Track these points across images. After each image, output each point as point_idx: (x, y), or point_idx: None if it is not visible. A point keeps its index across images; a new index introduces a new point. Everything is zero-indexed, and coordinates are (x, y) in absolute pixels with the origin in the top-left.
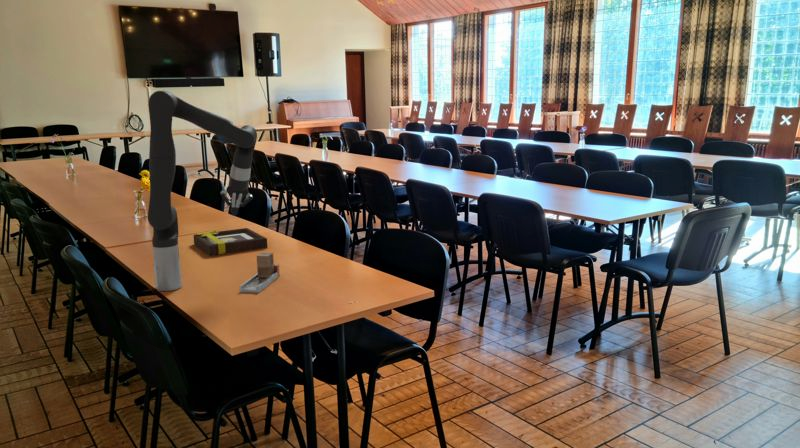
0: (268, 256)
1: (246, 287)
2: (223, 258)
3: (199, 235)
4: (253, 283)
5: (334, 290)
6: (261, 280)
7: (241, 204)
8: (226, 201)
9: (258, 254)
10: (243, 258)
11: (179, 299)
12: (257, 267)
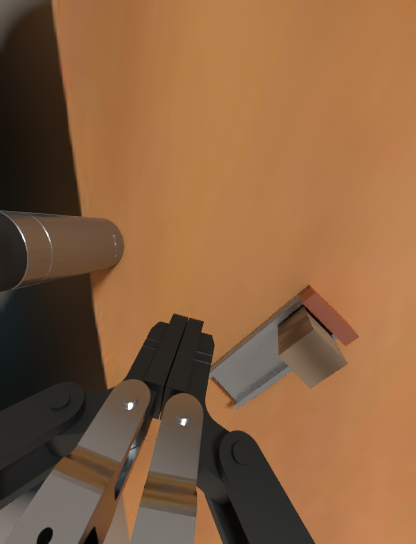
0: (310, 387)
1: (224, 371)
2: (290, 8)
3: None
4: (249, 357)
5: (397, 509)
6: (275, 349)
7: (207, 500)
8: (13, 470)
9: (291, 347)
10: (352, 45)
11: (107, 327)
12: (278, 337)
